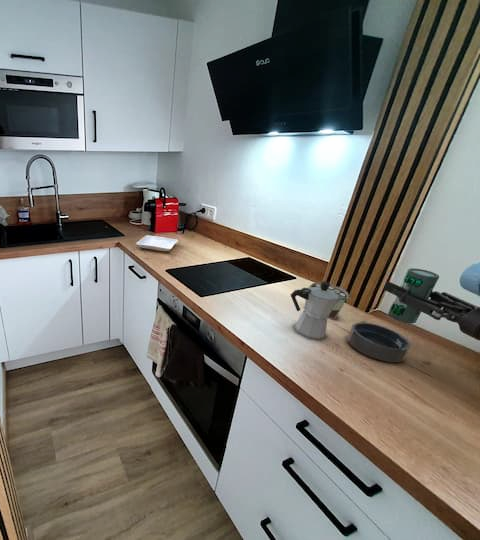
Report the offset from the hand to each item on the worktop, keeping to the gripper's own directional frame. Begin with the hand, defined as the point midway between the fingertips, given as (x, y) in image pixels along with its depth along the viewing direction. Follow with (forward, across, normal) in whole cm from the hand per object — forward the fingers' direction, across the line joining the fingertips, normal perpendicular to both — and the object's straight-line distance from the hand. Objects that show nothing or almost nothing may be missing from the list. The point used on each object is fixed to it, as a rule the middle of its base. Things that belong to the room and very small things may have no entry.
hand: (396, 285), depth 88 cm
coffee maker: (+3, -23, -18) cm, 29 cm away
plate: (+90, -54, -18) cm, 106 cm away
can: (-5, 0, -9) cm, 10 cm away
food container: (+14, -7, -18) cm, 24 cm away
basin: (-7, -8, -18) cm, 21 cm away
